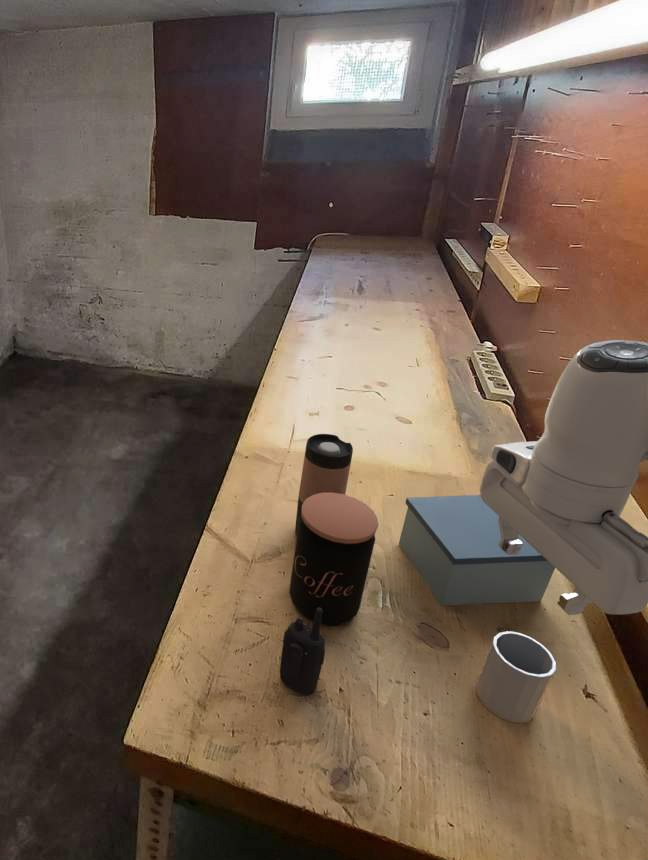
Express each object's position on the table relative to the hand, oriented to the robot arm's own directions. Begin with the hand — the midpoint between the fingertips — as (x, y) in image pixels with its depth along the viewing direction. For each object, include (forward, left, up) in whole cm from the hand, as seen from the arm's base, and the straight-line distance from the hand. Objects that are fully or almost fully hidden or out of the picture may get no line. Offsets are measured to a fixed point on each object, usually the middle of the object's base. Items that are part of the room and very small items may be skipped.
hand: (536, 578), depth 67 cm
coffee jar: (+21, -11, -21) cm, 31 cm away
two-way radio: (+26, +5, -21) cm, 33 cm away
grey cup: (-1, +1, -20) cm, 20 cm away
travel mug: (+21, -27, -21) cm, 40 cm away
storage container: (-3, -23, -20) cm, 31 cm away
